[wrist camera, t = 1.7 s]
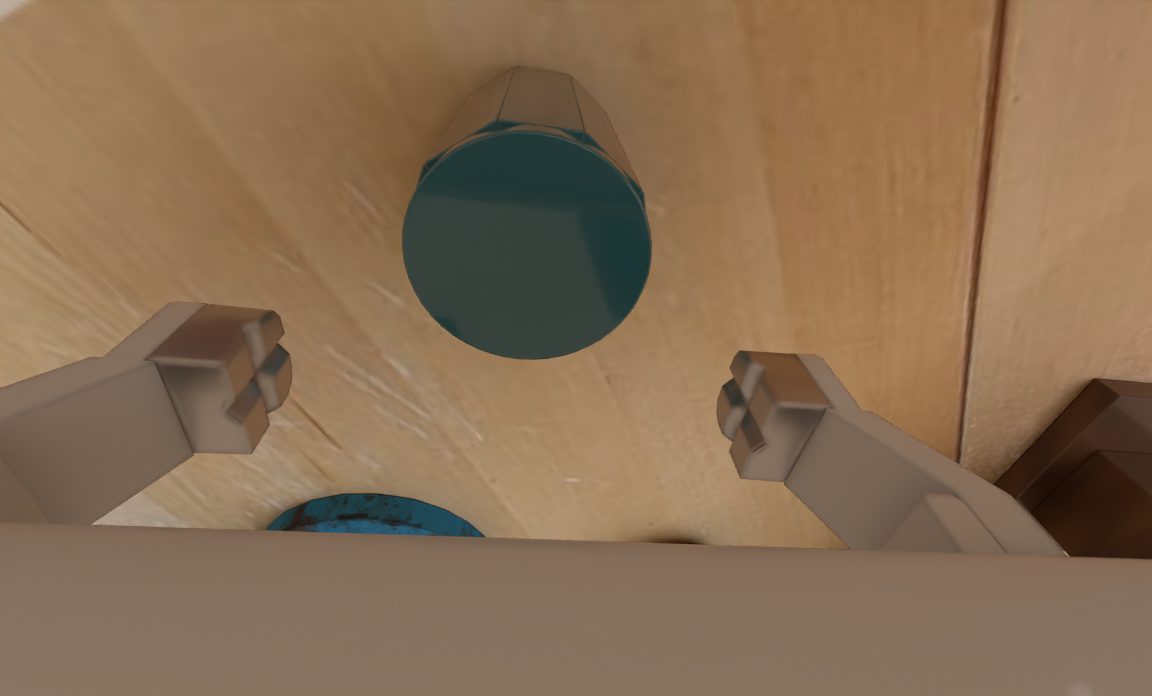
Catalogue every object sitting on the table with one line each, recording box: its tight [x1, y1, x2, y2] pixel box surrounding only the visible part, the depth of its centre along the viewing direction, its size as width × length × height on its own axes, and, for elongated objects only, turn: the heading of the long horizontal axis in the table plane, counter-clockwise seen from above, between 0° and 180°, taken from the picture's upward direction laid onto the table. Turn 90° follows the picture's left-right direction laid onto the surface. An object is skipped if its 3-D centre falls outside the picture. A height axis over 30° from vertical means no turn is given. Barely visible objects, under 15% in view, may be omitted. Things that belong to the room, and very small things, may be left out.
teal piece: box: [402, 66, 652, 360], centre depth 16 cm, size 6×6×9 cm
